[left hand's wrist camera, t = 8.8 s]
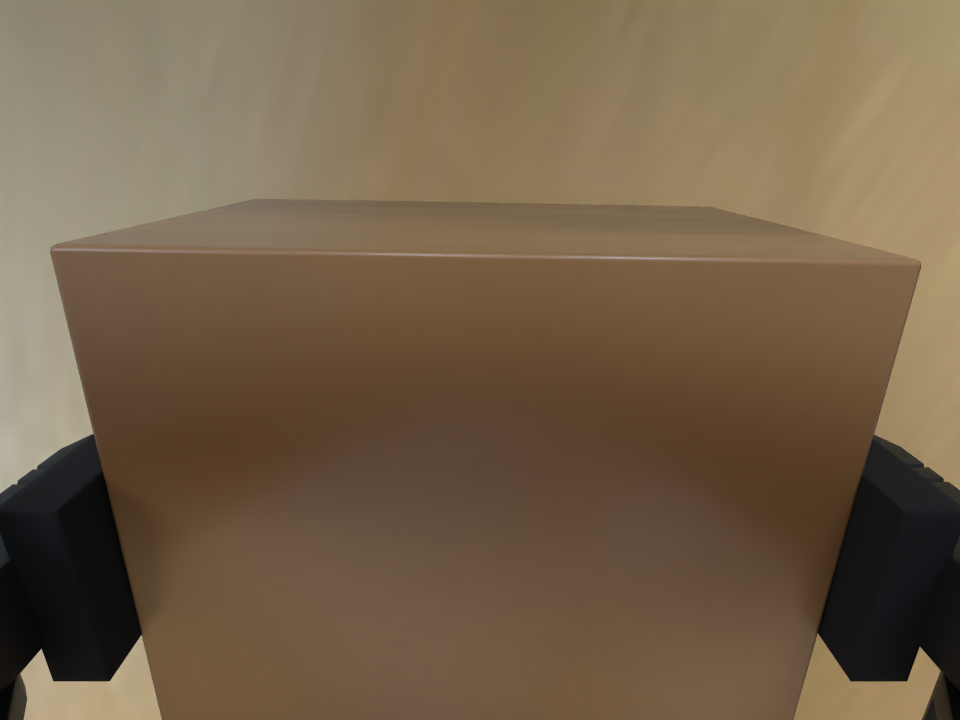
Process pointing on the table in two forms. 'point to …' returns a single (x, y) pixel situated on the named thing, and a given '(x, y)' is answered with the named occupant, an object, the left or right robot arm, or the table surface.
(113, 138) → the table surface
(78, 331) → the thick board
